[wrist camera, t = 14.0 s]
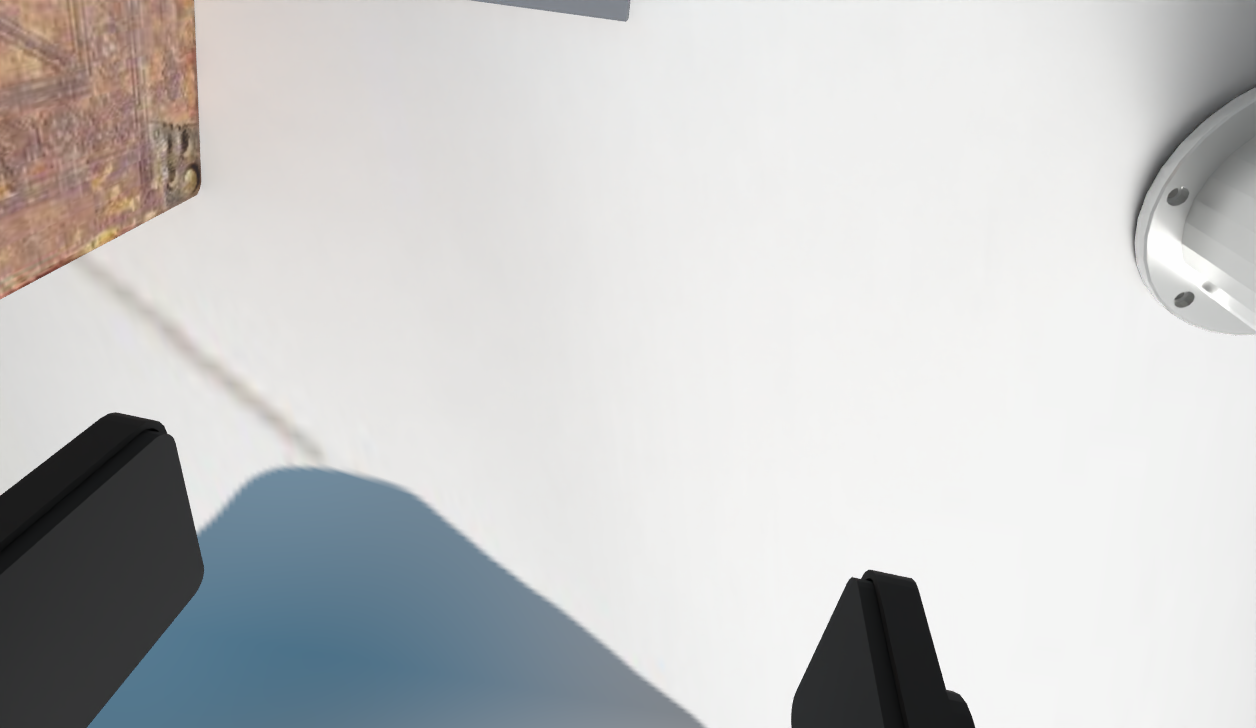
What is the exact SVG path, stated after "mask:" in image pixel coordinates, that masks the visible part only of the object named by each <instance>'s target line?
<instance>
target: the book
mask: <svg viewBox="0 0 1256 728" xmlns="http://www.w3.org/2000/svg"><path fill="white" fill-rule="evenodd" d="M200 185H201V163H200V139H199V114H198V90H197V66H196V41H195V17H194V0H0V299H2V298H4V297H6V296H7V295H9V294H11V293H13V292H15V291H17V290H19V289H21V288H22V287H24V286H26V285H28V284H30V283H32V282H34V281H36V280H38V279H39V278H41V277H43V276H45V275H47V274H49V273H51V272H53V271H54V270H56V269H58V268H60V267H62V266H64V265H66V264H68V263H70V262H71V261H73V260H75V259H77V258H79V257H81V256H83V255H85V254H86V253H88V252H90V251H92V250H94V249H96V248H98V247H100V246H102V245H103V244H105V243H107V242H109V241H111V240H113V239H115V238H117V237H118V236H120V235H122V234H124V233H126V232H128V231H130V230H132V229H133V228H135V227H137V226H139V225H141V224H143V223H145V222H147V221H149V220H150V219H152V218H154V217H156V216H158V215H160V214H162V213H164V212H165V211H167V210H169V209H171V208H173V207H175V206H177V205H179V204H181V203H182V202H184V201H186V200H188V199H190V198H192V197H194V196H196V195H197V194H198V191H199V189H200Z"/></svg>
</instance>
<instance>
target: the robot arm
mask: <svg viewBox="0 0 1256 728" xmlns="http://www.w3.org/2000/svg"><path fill="white" fill-rule="evenodd" d="M1134 243H1135V254H1136V264H1137V267H1138V270H1139V272H1140V275H1141V278H1142V280H1143V283H1144V284H1145V286H1146V287H1147V289H1148V290H1149V291H1150V293H1151V294H1152V296H1153V297H1154V298H1155V300H1157V301H1158V302H1159V303H1160V304H1161V305H1162V306H1163V307H1165V308H1166V309H1167V310H1168V311H1169V312H1170V313H1171V314H1173V315H1175V316H1176V317H1178V318H1180V319H1181V320H1183V321H1184V322H1186V323H1188V324H1189V325H1192V326H1195V327H1198V328H1201V329H1204V330H1206V331H1209V332H1214V333H1221V334H1228V335H1235V336H1238V335H1256V87H1255V88H1253V89H1251V90H1249V91H1247V92H1246V93H1244V94H1242V95H1240V96H1238V97H1236V98H1235V99H1233V100H1232V101H1230V102H1229V103H1228V104H1226V105H1225V106H1223V107H1222V108H1221V109H1219V110H1218V111H1217V112H1215V113H1214V114H1213V115H1211V116H1210V117H1209V118H1207V119H1206V120H1205V121H1204V122H1202V123H1201V124H1200V125H1199V126H1198V127H1197V128H1196V129H1195V130H1194V131H1193V132H1192V133H1191V134H1190V135H1189V136H1188V137H1187V138H1186V139H1185V140H1184V141H1183V142H1182V143H1181V144H1180V145H1179V146H1178V147H1177V149H1176V150H1175V151H1174V153H1173V154H1172V155H1171V156H1170V158H1169V159H1168V160H1167V161H1166V163H1165V164H1164V165H1163V167H1162V168H1161V169H1160V171H1159V173H1158V175H1157V176H1156V178H1155V180H1154V182H1153V183H1152V185H1151V187H1150V189H1149V191H1148V192H1147V194H1146V197H1145V200H1144V203H1143V205H1142V208H1141V211H1140V214H1139V217H1138V221H1137V228H1136V235H1135V242H1134ZM203 574H204V565H203V561H202V557H201V552H200V548H199V543H198V539H197V535H196V530H195V526H194V522H193V517H192V513H191V509H190V504H189V500H188V495H187V491H186V487H185V482H184V478H183V474H182V469H181V465H180V461H179V456H178V452H177V448H176V443H175V441H174V438H173V437H172V436H171V435H169V434H167V432H166V429H165V427H164V425H162V424H161V423H160V422H159V421H154V420H150V419H145V418H140V417H135V416H131V415H126V414H121V413H116V412H115V413H110V414H107V415H106V416H104V417H102V418H100V419H99V420H98V421H97V422H95V423H94V424H93V425H91V426H90V427H89V428H87V429H86V430H85V431H84V432H82V433H81V434H80V435H78V436H77V437H76V438H74V439H73V440H72V441H71V442H69V443H68V444H67V445H65V446H64V447H63V448H62V449H60V450H59V451H58V452H56V453H55V454H54V455H52V456H51V457H50V458H49V459H47V460H46V461H45V462H43V463H42V464H41V465H40V466H38V467H37V468H36V469H34V470H33V471H32V472H30V473H29V474H28V475H27V476H25V477H24V478H23V479H21V480H20V481H19V482H18V483H16V484H15V485H14V486H12V487H11V488H10V489H8V490H7V491H6V492H5V493H3V494H2V495H1V496H0V728H87V727H88V725H89V724H90V723H91V722H92V720H93V719H94V718H95V717H96V715H97V714H98V713H99V712H100V711H101V709H102V708H103V707H104V706H105V704H106V703H107V702H108V700H109V699H110V698H111V697H112V696H113V694H114V693H115V692H116V691H117V690H118V688H119V687H120V686H121V685H122V683H123V682H124V681H125V679H126V678H127V677H128V676H129V675H130V673H131V672H132V671H133V670H134V668H135V667H136V666H137V665H138V664H139V662H140V661H141V660H142V659H143V658H144V656H145V655H146V654H147V653H148V651H149V650H150V649H151V648H152V646H153V645H154V644H155V643H156V641H157V640H158V639H159V638H160V637H161V635H162V634H163V633H164V632H165V630H166V629H167V628H168V627H169V626H170V624H171V623H172V622H173V621H174V619H175V618H176V617H177V616H178V614H179V613H180V612H181V611H182V610H183V608H184V607H185V606H186V605H187V603H188V602H189V601H190V600H191V598H192V597H193V596H194V595H195V593H196V592H197V590H198V588H199V586H200V584H201V582H202V579H203ZM791 725H792V728H975V725H974V722H973V719H972V716H971V713H970V711H969V708H968V706H967V703H966V702H965V701H964V699H963V698H962V697H961V696H960V694H957V693H955V692H953V691H949V690H946V688H945V684H944V681H943V677H942V673H941V670H940V666H939V662H938V659H937V655H936V652H935V648H934V644H933V641H932V637H931V633H930V630H929V626H928V623H927V619H926V615H925V612H924V608H923V604H922V601H921V597H920V593H919V590H918V587H917V585H916V582H915V581H914V580H913V579H912V578H907V577H902V576H897V575H893V574H888V573H883V572H878V571H873V570H868V571H866V572H865V573H864V575H863V576H862V578H861V579H858V578H853V577H852V578H851V579H849V581H848V583H847V584H846V587H845V589H844V591H843V593H842V595H841V597H840V599H839V601H838V604H837V606H836V608H835V610H834V612H833V614H832V616H831V618H830V621H829V623H828V625H827V627H826V629H825V631H824V633H823V636H822V638H821V640H820V642H819V644H818V646H817V648H816V650H815V653H814V655H813V657H812V659H811V661H810V663H809V665H808V668H807V670H806V672H805V674H804V676H803V678H802V680H801V682H800V685H799V687H798V689H797V691H796V693H795V696H794V700H793V704H792V713H791Z"/></svg>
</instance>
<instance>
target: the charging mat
mask: <svg viewBox="0 0 1256 728" xmlns="http://www.w3.org/2000/svg"><path fill="white" fill-rule="evenodd" d="M472 1H479V2H487V3H494V4H501V5H509V6H516V7H523V8H531V9H538V10H545V11H552V12H560V13H567V14H574V15H582V16H589V17H596V18H604V19H611V20H618V21H627V20H628V17H629V8H630V0H472Z"/></svg>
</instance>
